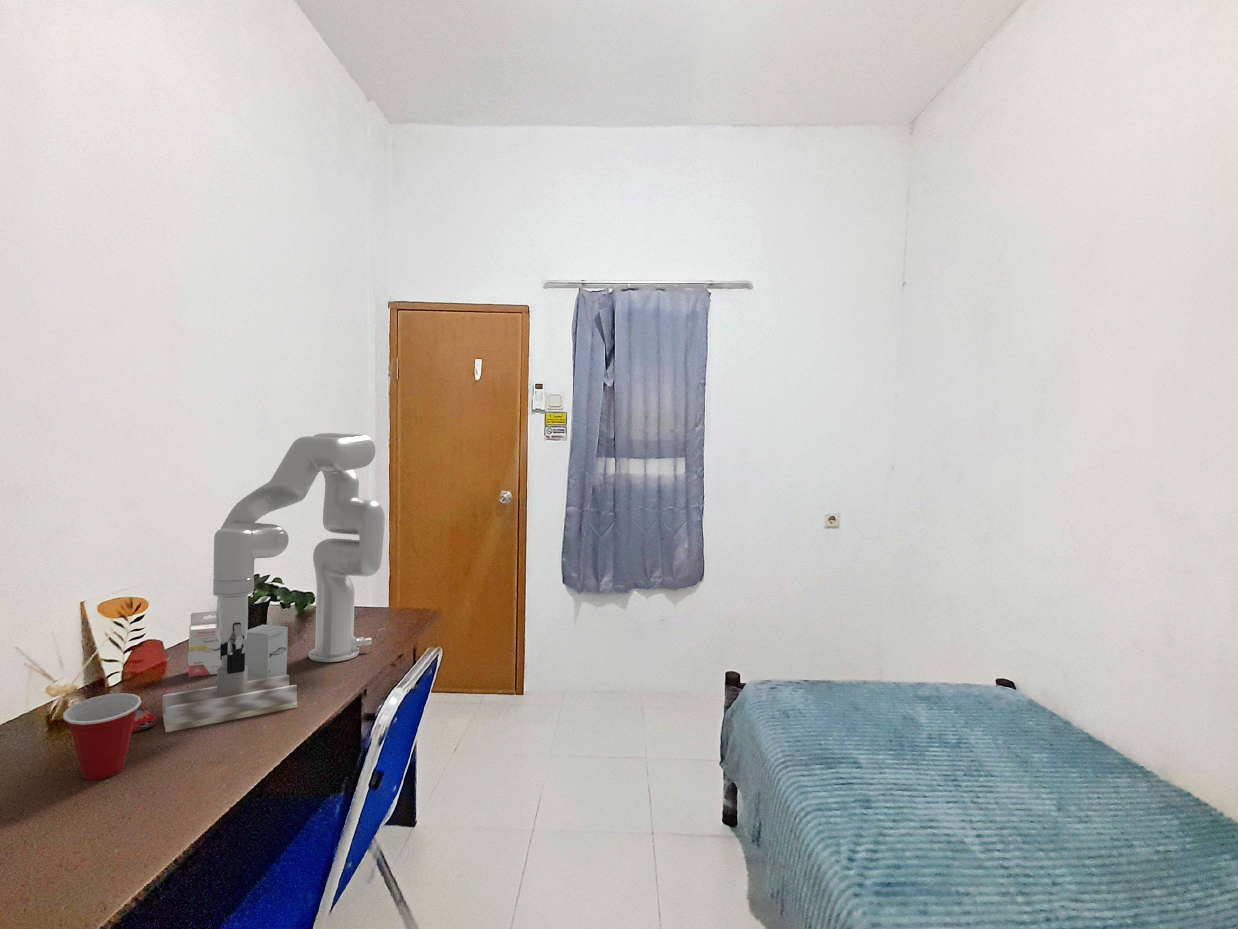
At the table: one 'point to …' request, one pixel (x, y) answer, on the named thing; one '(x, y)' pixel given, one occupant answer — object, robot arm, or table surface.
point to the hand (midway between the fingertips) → (232, 665)
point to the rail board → (227, 703)
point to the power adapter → (230, 680)
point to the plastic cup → (102, 732)
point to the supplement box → (266, 651)
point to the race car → (143, 719)
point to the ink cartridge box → (203, 645)
